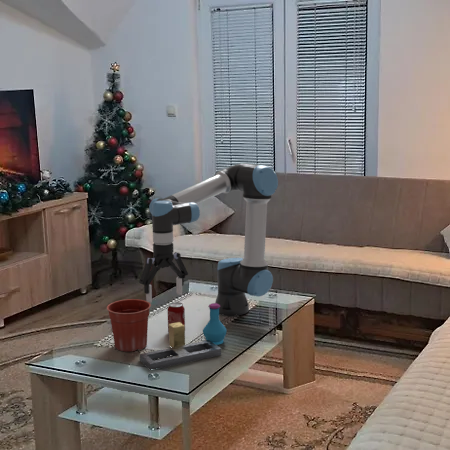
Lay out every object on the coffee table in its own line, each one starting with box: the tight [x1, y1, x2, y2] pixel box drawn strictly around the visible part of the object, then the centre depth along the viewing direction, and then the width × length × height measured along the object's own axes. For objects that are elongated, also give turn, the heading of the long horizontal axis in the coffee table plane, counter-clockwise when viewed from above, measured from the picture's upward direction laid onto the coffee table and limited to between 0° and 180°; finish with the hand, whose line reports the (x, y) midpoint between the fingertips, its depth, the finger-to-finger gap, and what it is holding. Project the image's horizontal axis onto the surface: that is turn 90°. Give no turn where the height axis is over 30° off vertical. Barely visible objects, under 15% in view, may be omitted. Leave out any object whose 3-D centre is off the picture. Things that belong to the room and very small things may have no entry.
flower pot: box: [106, 298, 152, 353], centre depth 267 cm, size 16×16×16 cm
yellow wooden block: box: [168, 322, 186, 348], centre depth 266 cm, size 4×4×9 cm
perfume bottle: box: [202, 302, 228, 346], centre depth 271 cm, size 9×9×15 cm
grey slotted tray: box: [139, 339, 222, 371], centre depth 257 cm, size 28×10×2 cm, turn 118°
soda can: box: [166, 301, 186, 333], centre depth 281 cm, size 7×7×12 cm
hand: (164, 297), depth 265 cm, fingers open, 13 cm apart
